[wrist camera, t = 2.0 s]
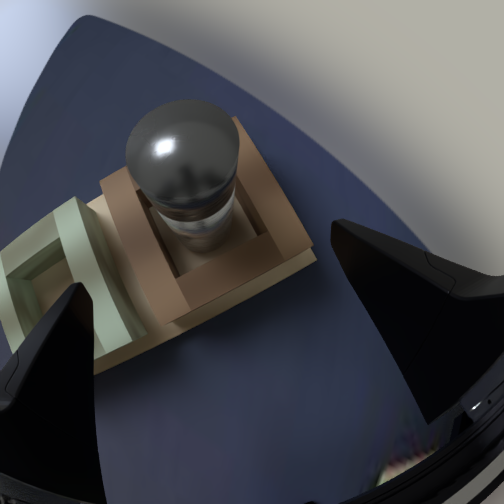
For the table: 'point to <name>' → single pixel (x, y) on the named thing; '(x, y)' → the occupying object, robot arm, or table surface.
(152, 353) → the table surface
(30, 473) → the robot arm
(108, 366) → the wooden desk organizer
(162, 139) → the shiny grey rounded piece
